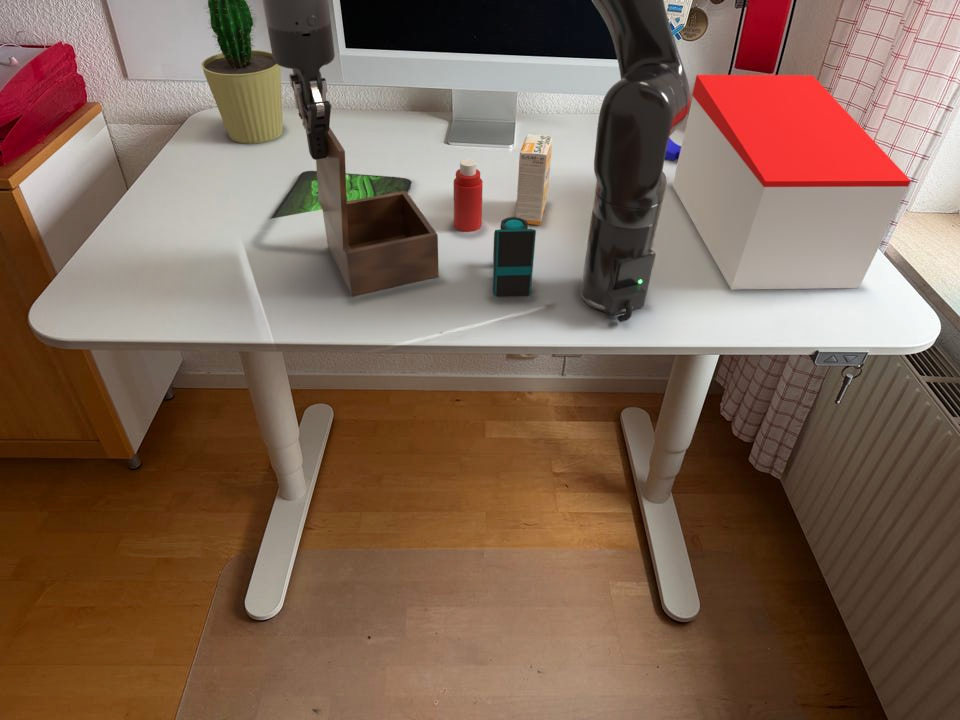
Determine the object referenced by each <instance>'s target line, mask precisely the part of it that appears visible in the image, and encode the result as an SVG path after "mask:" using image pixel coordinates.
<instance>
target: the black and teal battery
mask: <svg viewBox="0 0 960 720" xmlns="http://www.w3.org/2000/svg"><path fill="white" fill-rule="evenodd" d="M499 228H500V229H495V230H494V233H493V252H492V259H493V262H492V263H493V267H492V268H493V271H492V272H493V273H492V274H493V275H492V293H493V294H492V295H493V296H494V297H497V298H505V297H506V298H507V297H529V296H531V293H532V281H533V271H534V270H533V269H534V257H535V248H536V236H537V235H536V234H537V230H536V229H535V228H529V224H528V223H527V221H525V220H524V219H522V218H518V217H516V216H510V217H509V216H508V217H505V218H503V219H502V220H501V221H500V227H499Z"/></svg>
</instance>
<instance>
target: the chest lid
mask: <svg viewBox="0 0 960 720" xmlns="http://www.w3.org/2000/svg"><path fill="white" fill-rule="evenodd" d="M325 138H326V145H327V152H328V156H327V157H326V158H323V159H317V160H315V165H316V171H317V182H318V197H319V204H320V206H321V208H322V210H321V211H322V213H323V212H324V214H325V216H326V218H327V220H328V222H329V224H330V226H331V228H332V230H333V232H334V234H335V236H336V238H337V239H338V241H339V243H340V245H341V247H342V249H343V251H346V250H349V246H348V220H347V194H346V173H347V172H346V168H347V167H346V151H345V149H344V147H343V146H342V144H341V142H340V141H339V139H338V138H337V136H336V135H335V133H334V131H333V130H332V129H331V126H329V132H325Z"/></svg>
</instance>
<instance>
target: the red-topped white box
mask: <svg viewBox="0 0 960 720" xmlns="http://www.w3.org/2000/svg"><path fill="white" fill-rule="evenodd" d="M691 95H692V99H691V101H690V106H689V110H688V114H687V115H688V116H687V120H686V125H685V128H684V133H683V138H682V142H681V145H680V146H681V150H680V155H679V159H677V163H676V168H675V172H674V177H673V180H672V187H673V190H674V191H675V193H676V196H677V197H678V198H679V201H680V202H681V204H682V205H683V207H684V209H685V211H686V212H687V214H688V216H689V218H690V220H691V221H692V223H693V225H694V226H695V229H696V230H697V233H699V235H700V237H701V239H702V242H703V243H704V245H705V246H706V248H707V250H708V251H709V254H710V255H711V257H712V259H713V260H714V262H715V264H716V266H717V267H718V269H719V271H720V273H721V274H722V276H723V278H724V280H725V281H726V283H727V286H729V289H730V290H733V291H734V290H735V291H737V290H738V291H739V290H807V289H808V290H810V289H817V290H819V289H859V288H860V286H861V285H862V283H863V281H864V278H865V276H866V275H867V272H868V271H869V268H870V266H871V264H872V262H873V260H874V258H875V257H876V254H877V252H878V249H879V248H880V245H881V243H882V242H883V240H884V237H885V235H886V233H887V231H888V230H889V227H890V225H891V222H892V221H893V218H894V217H895V215H896V213H897V211H898V208H899V206H900V204H901V203H902V200H903V198H904V196H905V194H906V192H907V190H908V189H909V186H910V184H911V181H912V180H911V179H910V178H909V177H908V176H907V175H906V174H905V173H904V171H902V170H901V168H900V167H899V166H898V165H897V164H896V163H895V162H894V161H893V159H891V157H889V156H888V155H887V153H886V152H885V151H884V150H883V149H882V148H881V147H880V146H879V145H878V144H877V143H876V141H875V140H874V139H873V138H872V137H871V136H870V135H869V134H868V133H867V132H866V131H865V130H864V129H863V127H861V126H860V124H859V123H858V122H857V121H856V120H855V119H854V118H853V117H852V116H851V115H850V113H848V111H846V109H845V108H844V107H843V106H842V105H841V104H840V103H839V101H838V100H836V98H834V96H832V94H831V93H830V92H829V91H828V90H827V89H826V87H824V86H823V85H822V83H820V81H819V80H818V79H817V78H816V77H815V76H814V75H813V74H696V75H695V81H694V85H693V89H692V94H691Z"/></svg>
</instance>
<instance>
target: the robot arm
mask: <svg viewBox="0 0 960 720" xmlns="http://www.w3.org/2000/svg"><path fill="white" fill-rule="evenodd" d="M591 2H592V3H593V5H594V6H595V8H596V9H597V11H598V12H599V14H600V15H601V18H602V19H603V21H604V22H605V24H606V26H607V28H608V31H609V33H610V36H611V40H612V42H613V46H614V50H615V55H616V59H617V63H618V70H619V75H620V80H617V82H615V83H614V84H613V85H612V86H611V87H610V88H609V89H608V91H606V94H605V95H604V97H603V100H602V103H601V106H600V110H599V115H598V121H597V129H596V138H595V147H594V159H593V170H594V171H593V172H594V175H595V179H596V182H595V188H594V189H595V190H594V197H593V202H592V203H593V204H592V210H591V216H590V224H589V229H588V237H587V243H586V249H585V250H586V251H585V257H584V265H583V271H582V278H581V283H580V287H579V294H580V297H581V300H583V301H584V303H586V305H588V306H590V307H591V308H593V309H595V310H597V311H601V312H605V313H606V315H608V316H615V315H618V317H617V321H618V322H619V323H624V322H626V321H628V320H630V318H631V317H632V315H633V311H634V310H637V309H641V308H644V307H645V304H646V299H647V295H648V290H649V286H650V281H651V277H652V273H653V268H654V264H655V259H656V253H655V251H654V250H653V246H654V242H655V237H656V233H657V228H658V224H659V219H660V215H661V210H662V207H663V202H664V198H665V193H666V189H667V183H668V182H667V181H668V178H667V175H666V174H665V172H664V171H663V170H664V165H665V160H666V159H665V155H666V149H667V145H668V140H669V137H671V136H672V134H673V133H674V132H675V131H677V130H678V129H679V128H680V126H681V125H682V124H683V123H684V121H685V119H686V118H687V117H688V116H687V115H688V114H689V111H690V107H691V89H690V84H689V81H688V76H687V73H686V70H685V67H684V64H683V61H682V59H681V55H680V53H679V49H678V47H677V43H676V41H675V37H674V34H673V31H672V27H671V25H670V21H669V17H668V13H667V10H666V4H665V1H664V0H591ZM262 5H263V10H264V11H263V12H264V17H265V22H266V27H267V34H268V38H269V44H270V49H271V53H272V56H273V60H274V61H275V63H276V64H278V65H279V66H281V68H284V69H290V70H292V73H290V74H289V75H288V78H289V85H290V87H291V89H292V90H293V96H294V101H295V107H296V109H297V110H298V116H299V118H300V120H302V123H301V124H302V127H303V128H304V130H305V133H306V140H307V141H306V142H307V146H308V152H309V155H310V157H311V159H313V160H315V161H316V160H317V159H323V158H326V157H327V156H328V152H327V145H326V138H325V132H329V127H330V123H331V122H330V121H331V112H332V111H331V110H332V109H331V108H332V104H331V103H330V101H329V100H327V93H328V86H327V85H328V84H327V80H326V78H325V77H323V76H322V72H321V70H320V69H321V68H323V66H327V65H329V64H331V63H332V62H333V61H334V59H335V55H336V54H335V45H334V37H333V29H332V21H331V12H330V4H329V0H262ZM622 313H624V314H622ZM619 314H620V315H619Z"/></svg>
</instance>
